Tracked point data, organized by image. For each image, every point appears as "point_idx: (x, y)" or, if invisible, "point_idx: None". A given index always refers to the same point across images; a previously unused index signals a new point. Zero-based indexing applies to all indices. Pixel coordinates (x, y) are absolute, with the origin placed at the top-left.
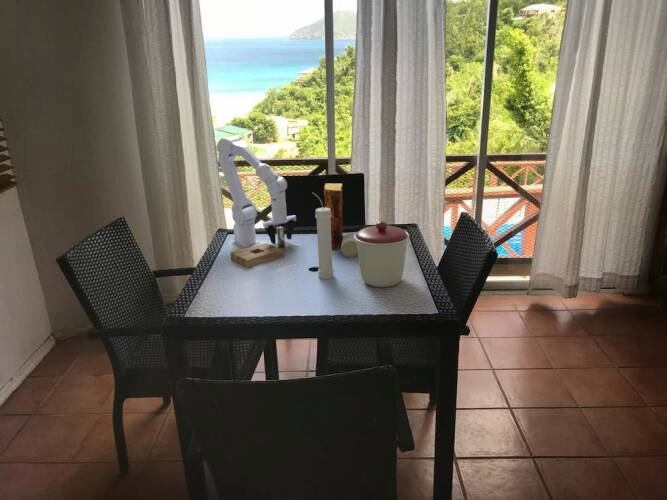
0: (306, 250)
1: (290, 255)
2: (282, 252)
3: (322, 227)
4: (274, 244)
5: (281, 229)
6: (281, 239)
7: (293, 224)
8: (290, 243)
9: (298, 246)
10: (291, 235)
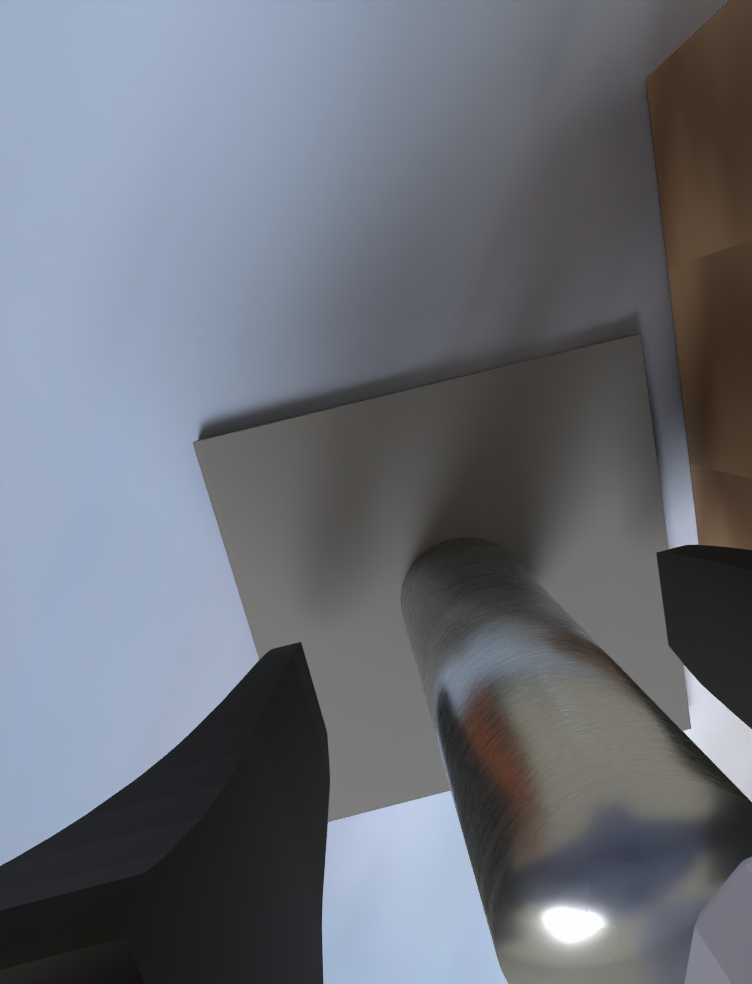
0: (122, 200)
1: (497, 99)
2: (725, 16)
3: None
4: None
5: (649, 756)
6: (533, 597)
7: (30, 894)
8: None
9: (198, 450)
10: (247, 679)
